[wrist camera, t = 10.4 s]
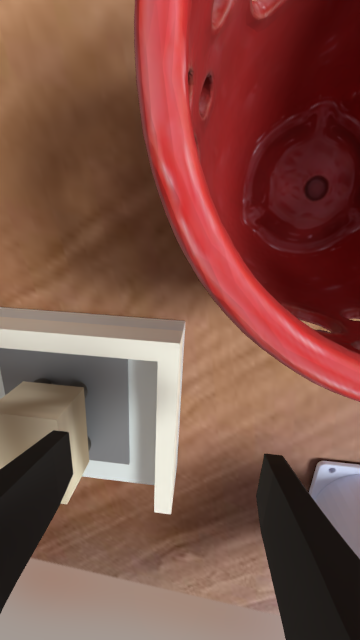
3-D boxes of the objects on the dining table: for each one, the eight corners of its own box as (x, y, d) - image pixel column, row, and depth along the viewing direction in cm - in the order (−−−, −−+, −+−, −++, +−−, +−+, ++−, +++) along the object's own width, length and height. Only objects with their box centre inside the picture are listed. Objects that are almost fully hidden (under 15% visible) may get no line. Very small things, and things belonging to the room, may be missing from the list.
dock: (185, 321, 17) (180, 343, 14) (176, 465, 21) (171, 514, 18) (-31, 304, 19) (-91, 321, 15) (0, 444, 22) (-42, 486, 19)
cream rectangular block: (91, 377, 17) (57, 419, 13) (96, 448, 19) (66, 504, 15) (35, 371, 17) (-16, 411, 13) (45, 442, 19) (2, 495, 15)
